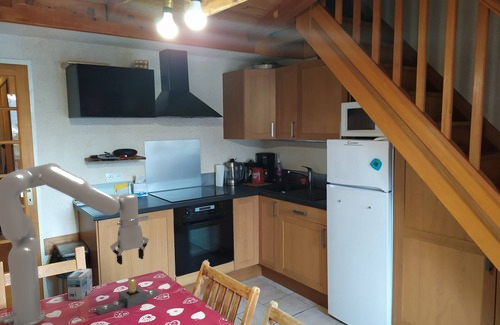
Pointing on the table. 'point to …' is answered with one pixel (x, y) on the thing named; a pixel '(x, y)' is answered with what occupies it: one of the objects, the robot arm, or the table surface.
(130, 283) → the brass pin
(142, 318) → the table surface
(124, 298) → the grey slotted base plate
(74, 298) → the light bulb box
